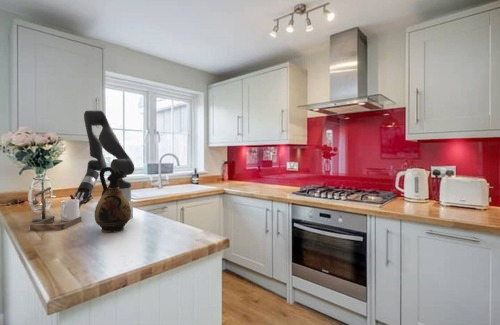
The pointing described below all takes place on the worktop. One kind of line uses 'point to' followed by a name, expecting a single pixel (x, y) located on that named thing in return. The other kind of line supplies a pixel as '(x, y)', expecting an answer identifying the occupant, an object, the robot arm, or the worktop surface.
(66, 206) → the mug
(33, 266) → the worktop surface
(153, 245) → the worktop surface
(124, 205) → the ceramic jug
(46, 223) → the tray frame
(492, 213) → the worktop surface
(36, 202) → the balance
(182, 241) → the worktop surface
